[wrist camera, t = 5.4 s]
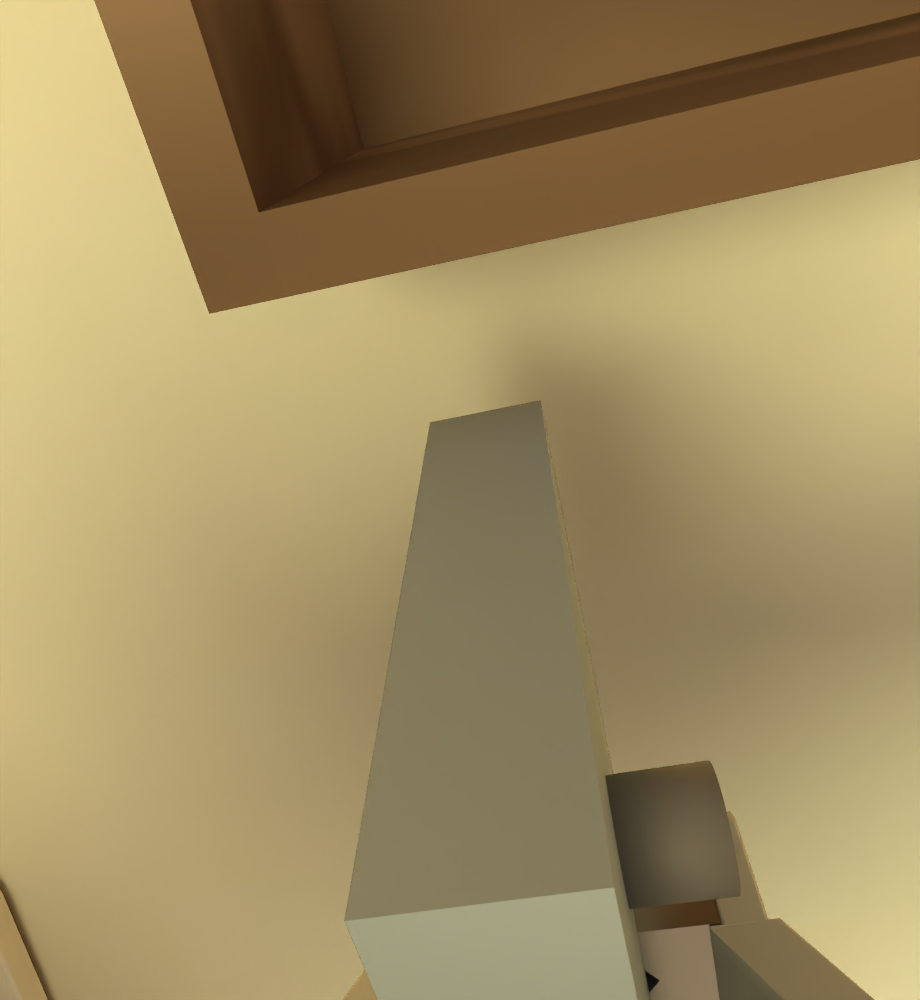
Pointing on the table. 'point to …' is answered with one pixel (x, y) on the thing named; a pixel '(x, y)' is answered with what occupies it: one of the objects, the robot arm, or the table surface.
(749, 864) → the robot arm
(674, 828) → the door
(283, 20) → the wooden box
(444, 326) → the table surface
